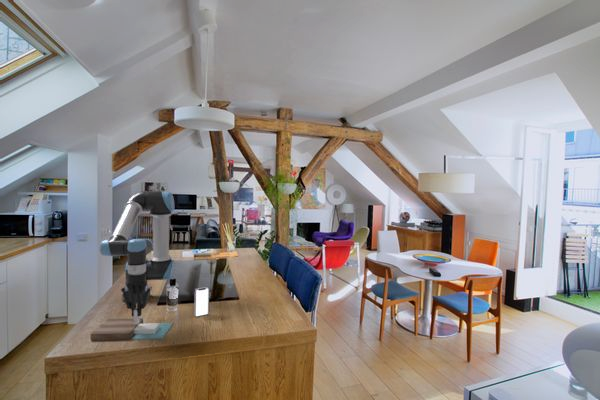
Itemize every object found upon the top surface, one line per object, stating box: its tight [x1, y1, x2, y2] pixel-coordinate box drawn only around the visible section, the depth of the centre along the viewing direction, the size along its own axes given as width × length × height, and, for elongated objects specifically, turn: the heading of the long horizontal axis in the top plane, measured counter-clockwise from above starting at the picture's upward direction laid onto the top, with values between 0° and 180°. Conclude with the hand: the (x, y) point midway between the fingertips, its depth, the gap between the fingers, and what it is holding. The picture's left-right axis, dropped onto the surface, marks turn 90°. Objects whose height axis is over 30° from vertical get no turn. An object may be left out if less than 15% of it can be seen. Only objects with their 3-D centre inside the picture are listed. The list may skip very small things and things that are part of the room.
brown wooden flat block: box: [90, 317, 144, 342], centre depth 141 cm, size 15×16×3 cm
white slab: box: [134, 322, 160, 335], centre depth 143 cm, size 6×9×2 cm, turn 96°
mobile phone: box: [193, 286, 210, 318], centre depth 161 cm, size 8×1×15 cm, turn 124°
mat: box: [131, 322, 174, 341], centre depth 143 cm, size 15×13×1 cm
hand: (136, 322), depth 142 cm, fingers closed
